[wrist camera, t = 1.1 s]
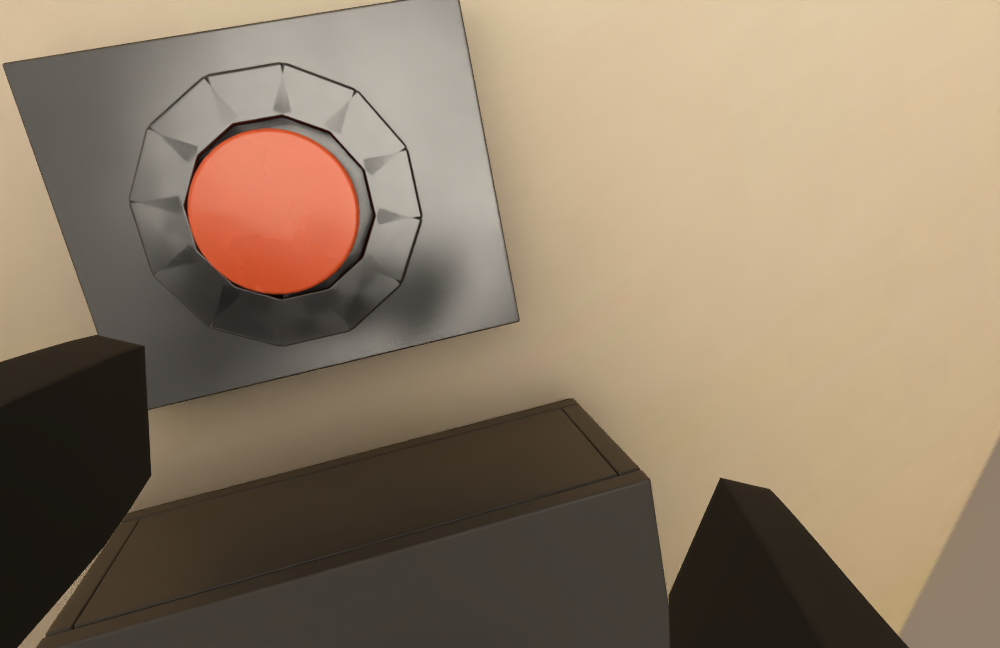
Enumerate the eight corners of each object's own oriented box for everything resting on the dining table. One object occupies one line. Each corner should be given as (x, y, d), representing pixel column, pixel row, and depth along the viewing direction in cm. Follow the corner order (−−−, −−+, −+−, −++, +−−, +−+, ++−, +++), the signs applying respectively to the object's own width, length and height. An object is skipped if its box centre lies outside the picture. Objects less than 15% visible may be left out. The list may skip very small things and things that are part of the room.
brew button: (374, 265, 17) (376, 275, 16) (228, 297, 17) (214, 311, 15) (339, 119, 16) (336, 113, 15) (184, 148, 16) (163, 145, 14)
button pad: (507, 310, 21) (535, 335, 18) (145, 395, 20) (101, 441, 16) (449, 5, 19) (468, -30, 16) (34, 73, 17) (-43, 50, 14)
